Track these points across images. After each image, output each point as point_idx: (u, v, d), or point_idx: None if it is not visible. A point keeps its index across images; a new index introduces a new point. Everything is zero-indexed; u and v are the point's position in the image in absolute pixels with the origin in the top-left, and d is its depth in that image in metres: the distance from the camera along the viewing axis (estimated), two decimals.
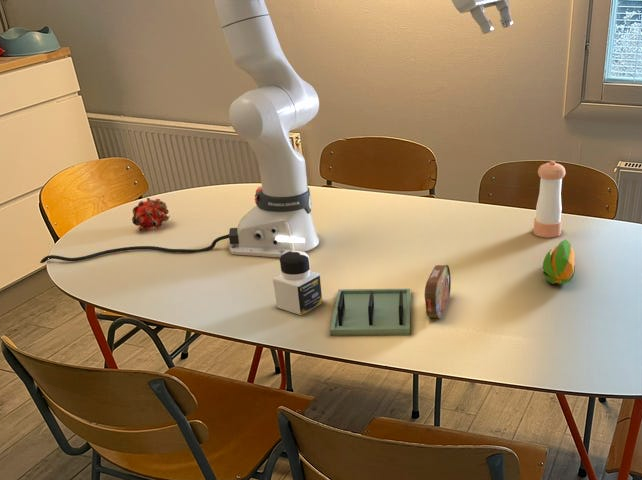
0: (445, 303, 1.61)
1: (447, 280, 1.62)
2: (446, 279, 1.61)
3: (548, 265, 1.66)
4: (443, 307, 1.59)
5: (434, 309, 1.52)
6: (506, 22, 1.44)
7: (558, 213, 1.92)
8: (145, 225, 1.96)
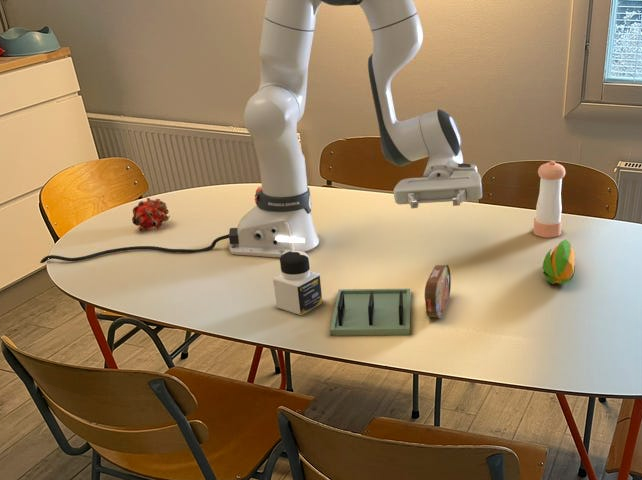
0: (445, 303, 1.61)
1: (447, 280, 1.62)
2: (446, 279, 1.61)
3: (548, 265, 1.66)
4: (443, 307, 1.59)
5: (434, 309, 1.52)
6: (417, 204, 1.65)
7: (558, 213, 1.92)
8: (145, 225, 1.96)
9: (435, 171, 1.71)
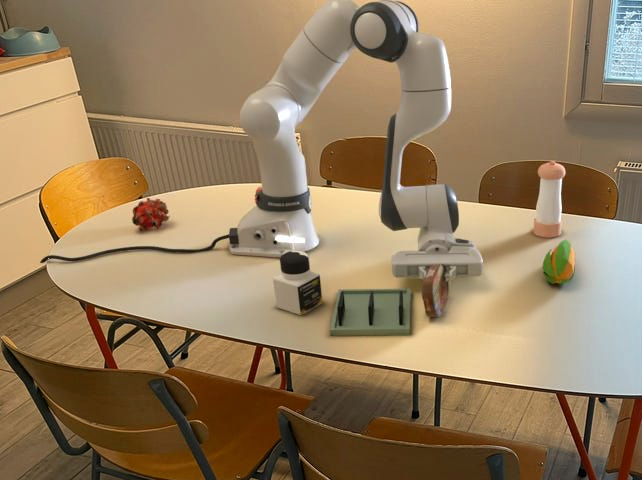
0: (444, 302, 1.61)
1: (444, 279, 1.62)
2: (443, 278, 1.61)
3: (548, 265, 1.66)
4: (443, 306, 1.59)
5: (433, 308, 1.52)
6: None
7: (558, 213, 1.92)
8: (145, 225, 1.96)
9: (433, 245, 1.68)
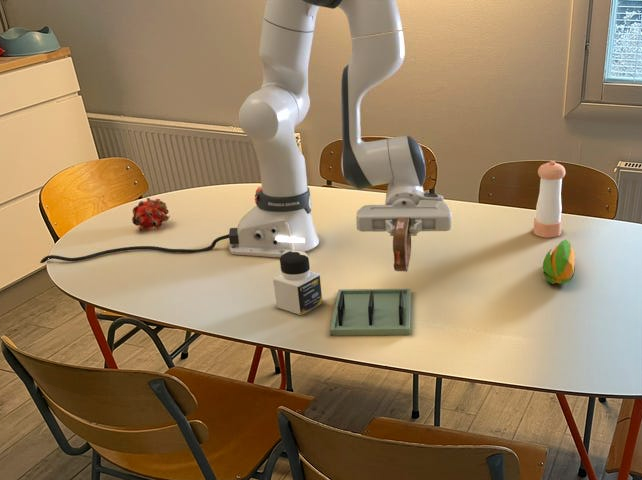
0: (408, 257, 1.54)
1: (409, 233, 1.55)
2: (408, 232, 1.55)
3: (548, 265, 1.66)
4: (407, 261, 1.53)
5: (403, 262, 1.45)
6: None
7: (558, 213, 1.92)
8: (145, 225, 1.96)
9: (400, 199, 1.61)
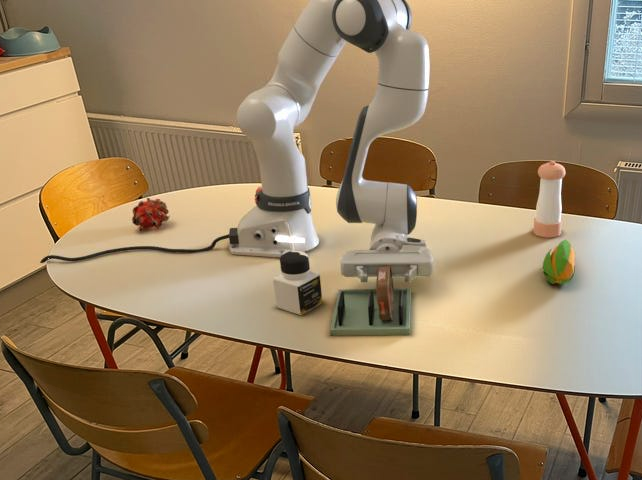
0: (392, 305, 1.59)
1: (391, 281, 1.60)
2: (390, 280, 1.59)
3: (548, 265, 1.66)
4: (392, 309, 1.57)
5: (388, 311, 1.50)
6: (366, 278, 1.57)
7: (558, 213, 1.92)
8: (145, 225, 1.96)
9: (384, 244, 1.65)
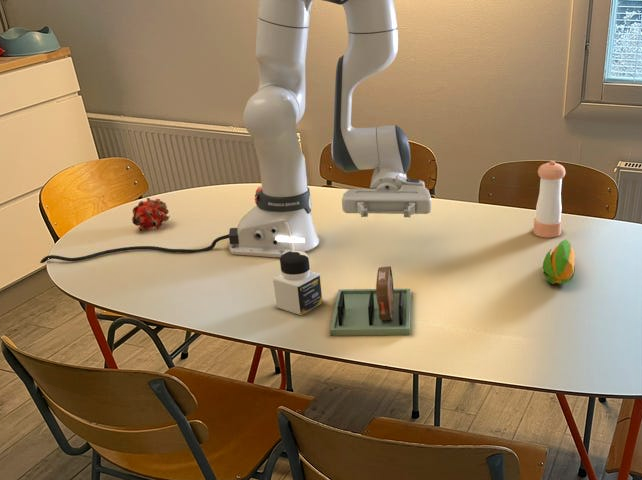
0: (392, 305, 1.59)
1: (391, 281, 1.60)
2: (390, 280, 1.59)
3: (548, 265, 1.66)
4: (392, 309, 1.57)
5: (388, 311, 1.50)
6: (367, 213, 1.64)
7: (558, 213, 1.92)
8: (145, 225, 1.96)
9: (384, 183, 1.71)
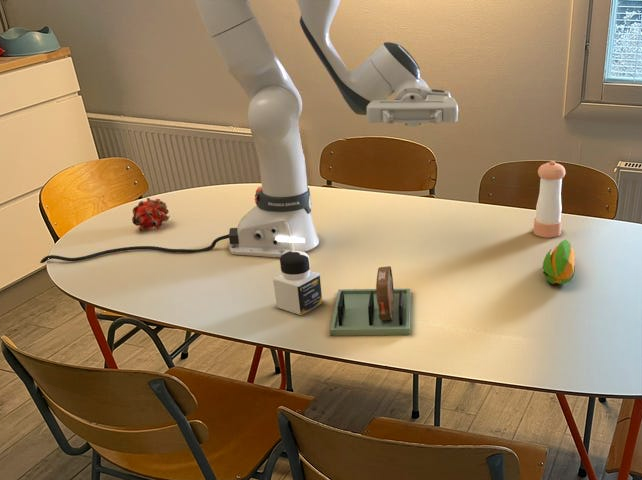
0: (392, 305, 1.59)
1: (391, 281, 1.60)
2: (390, 280, 1.59)
3: (548, 265, 1.66)
4: (392, 309, 1.57)
5: (388, 311, 1.50)
6: (393, 120, 1.59)
7: (558, 213, 1.92)
8: (145, 225, 1.96)
9: (408, 94, 1.67)
